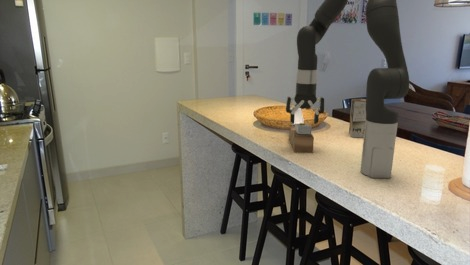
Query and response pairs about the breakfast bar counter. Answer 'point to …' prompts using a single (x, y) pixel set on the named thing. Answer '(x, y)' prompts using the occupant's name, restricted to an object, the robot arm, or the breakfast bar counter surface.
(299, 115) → the lever
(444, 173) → the breakfast bar counter surface
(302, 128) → the grey rectangular block
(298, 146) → the body
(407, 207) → the breakfast bar counter surface
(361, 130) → the coffee box
